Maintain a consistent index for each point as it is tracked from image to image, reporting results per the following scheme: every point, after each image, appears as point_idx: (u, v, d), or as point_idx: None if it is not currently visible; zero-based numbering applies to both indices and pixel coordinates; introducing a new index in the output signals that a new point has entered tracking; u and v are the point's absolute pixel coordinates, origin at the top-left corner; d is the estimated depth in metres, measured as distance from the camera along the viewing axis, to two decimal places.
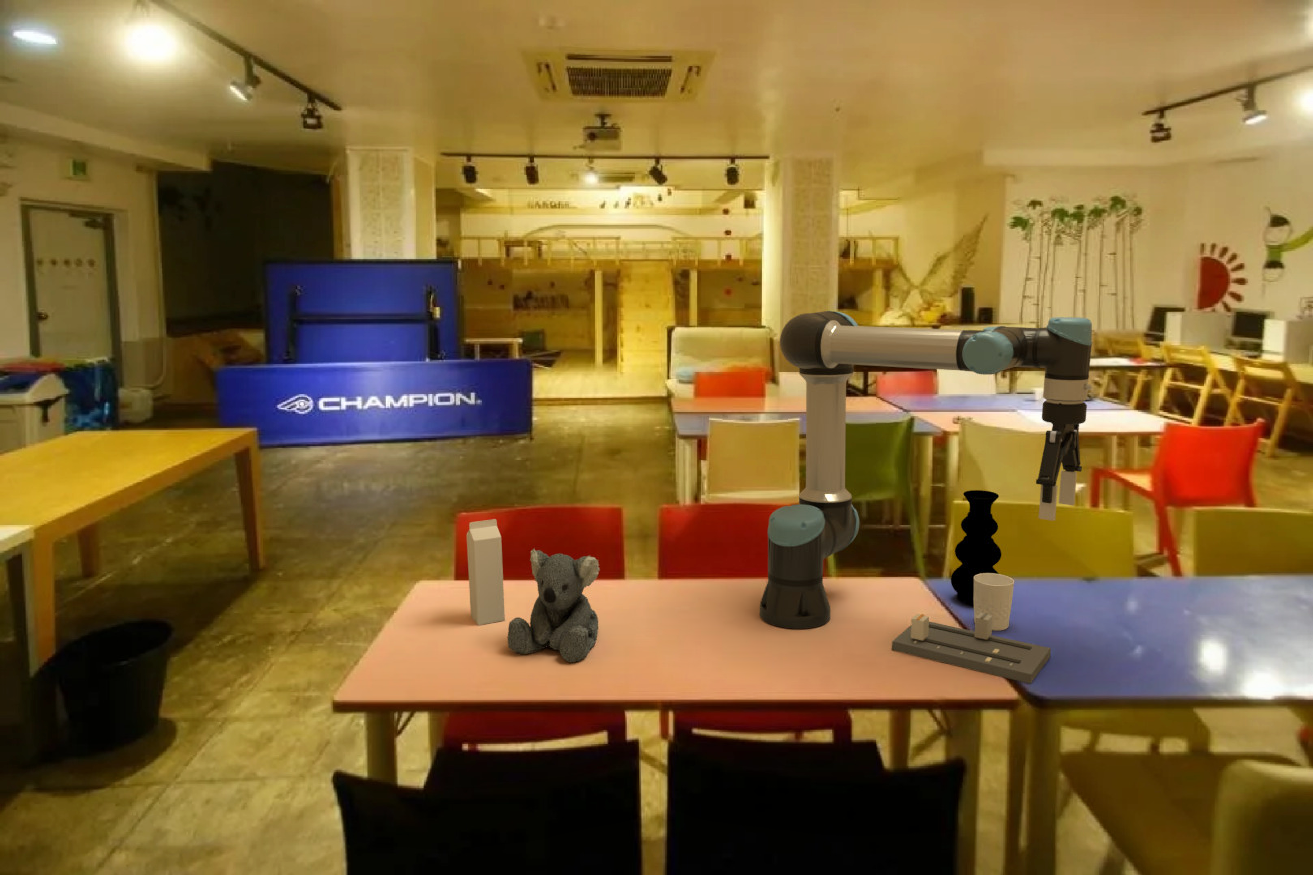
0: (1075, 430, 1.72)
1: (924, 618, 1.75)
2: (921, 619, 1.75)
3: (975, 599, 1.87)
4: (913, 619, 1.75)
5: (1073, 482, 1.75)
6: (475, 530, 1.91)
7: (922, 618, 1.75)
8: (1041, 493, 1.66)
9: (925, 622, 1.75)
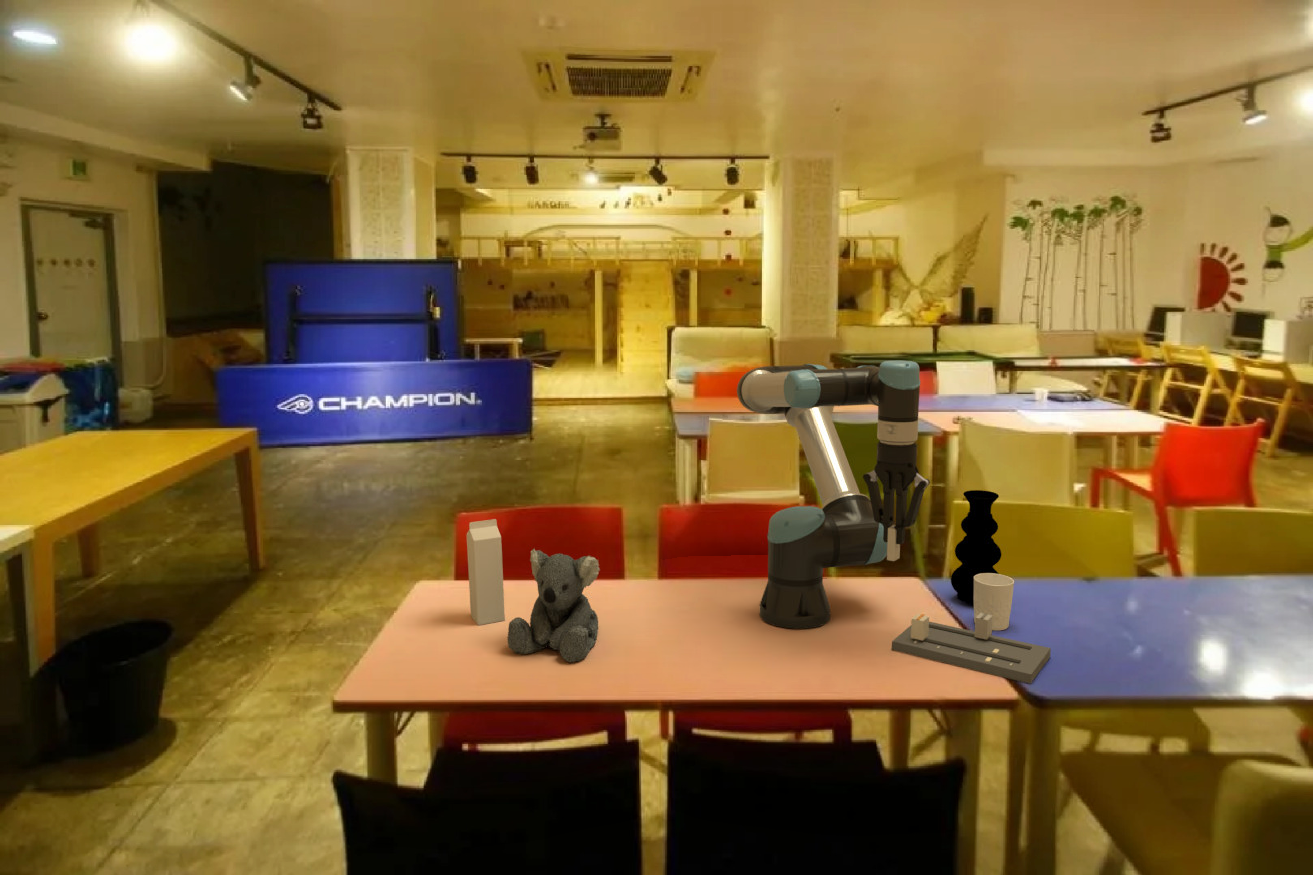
0: (916, 484, 1.71)
1: (924, 618, 1.75)
2: (921, 619, 1.75)
3: (975, 599, 1.87)
4: (913, 619, 1.75)
5: None
6: (475, 530, 1.91)
7: (922, 618, 1.75)
8: None
9: (925, 622, 1.75)
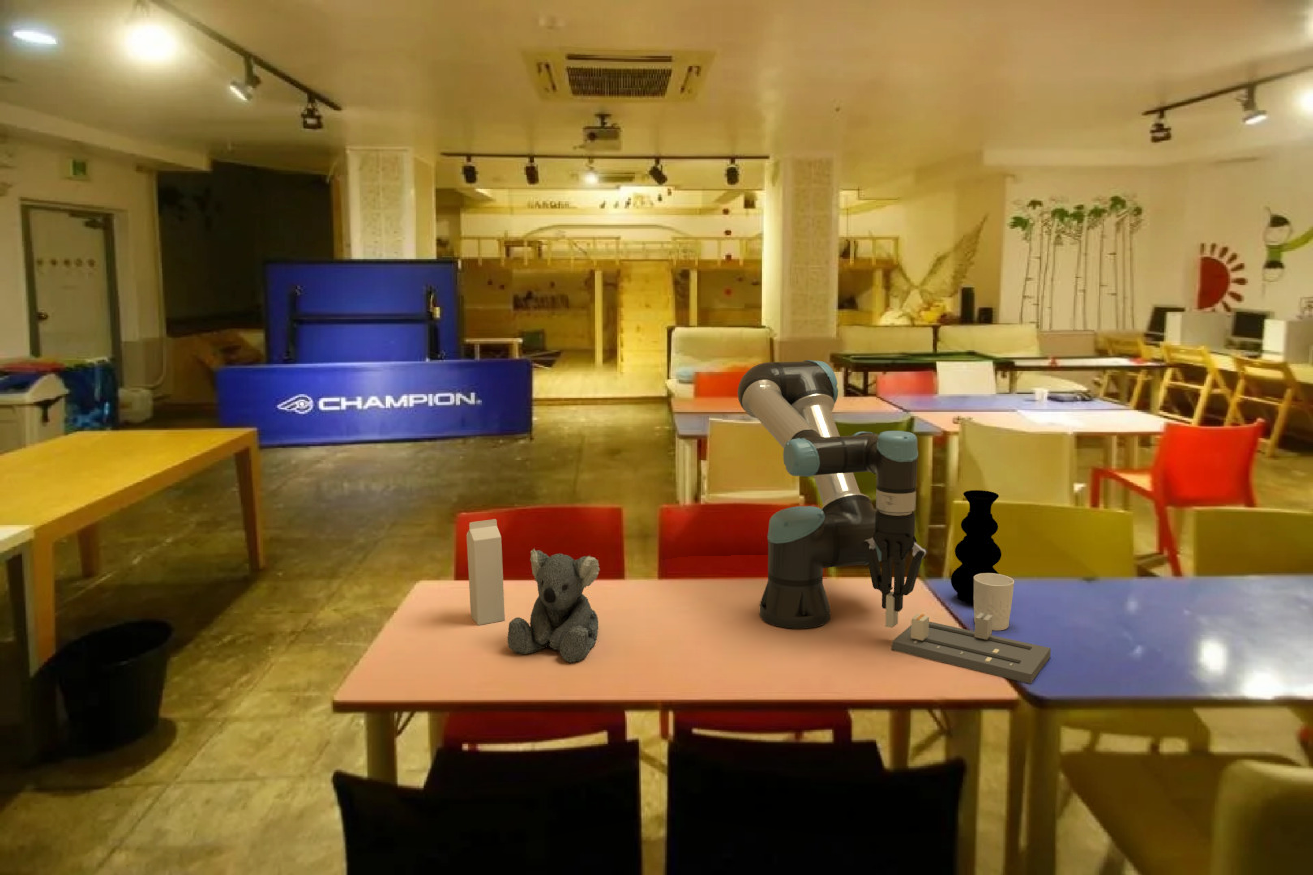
0: (914, 553, 1.74)
1: (924, 618, 1.75)
2: (921, 619, 1.75)
3: (975, 599, 1.87)
4: (913, 619, 1.75)
5: None
6: (475, 530, 1.91)
7: (922, 618, 1.75)
8: None
9: (925, 622, 1.75)
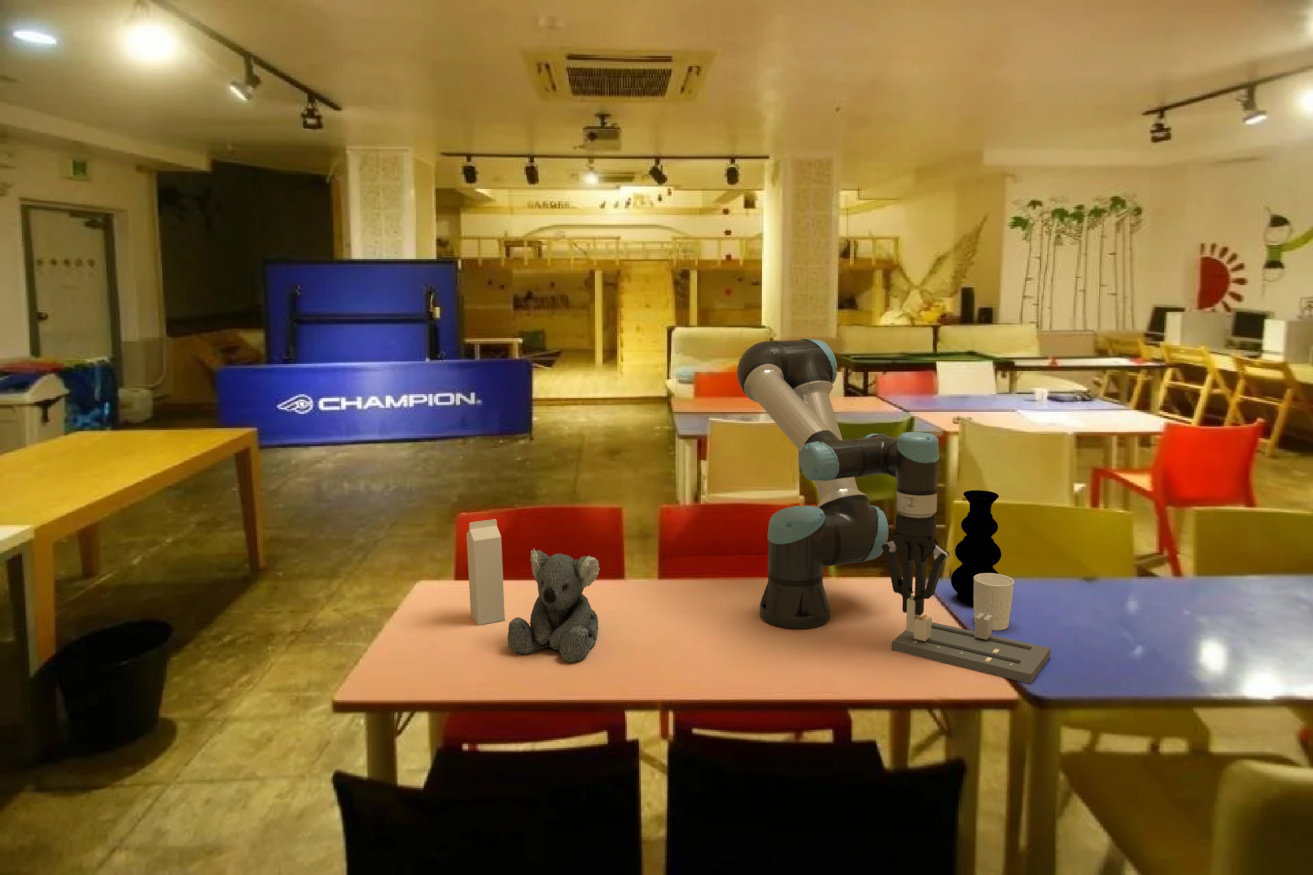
0: (936, 556, 1.71)
1: (927, 619, 1.75)
2: (924, 620, 1.75)
3: (975, 599, 1.87)
4: (916, 620, 1.75)
5: None
6: (475, 530, 1.91)
7: (925, 619, 1.75)
8: None
9: (928, 622, 1.75)
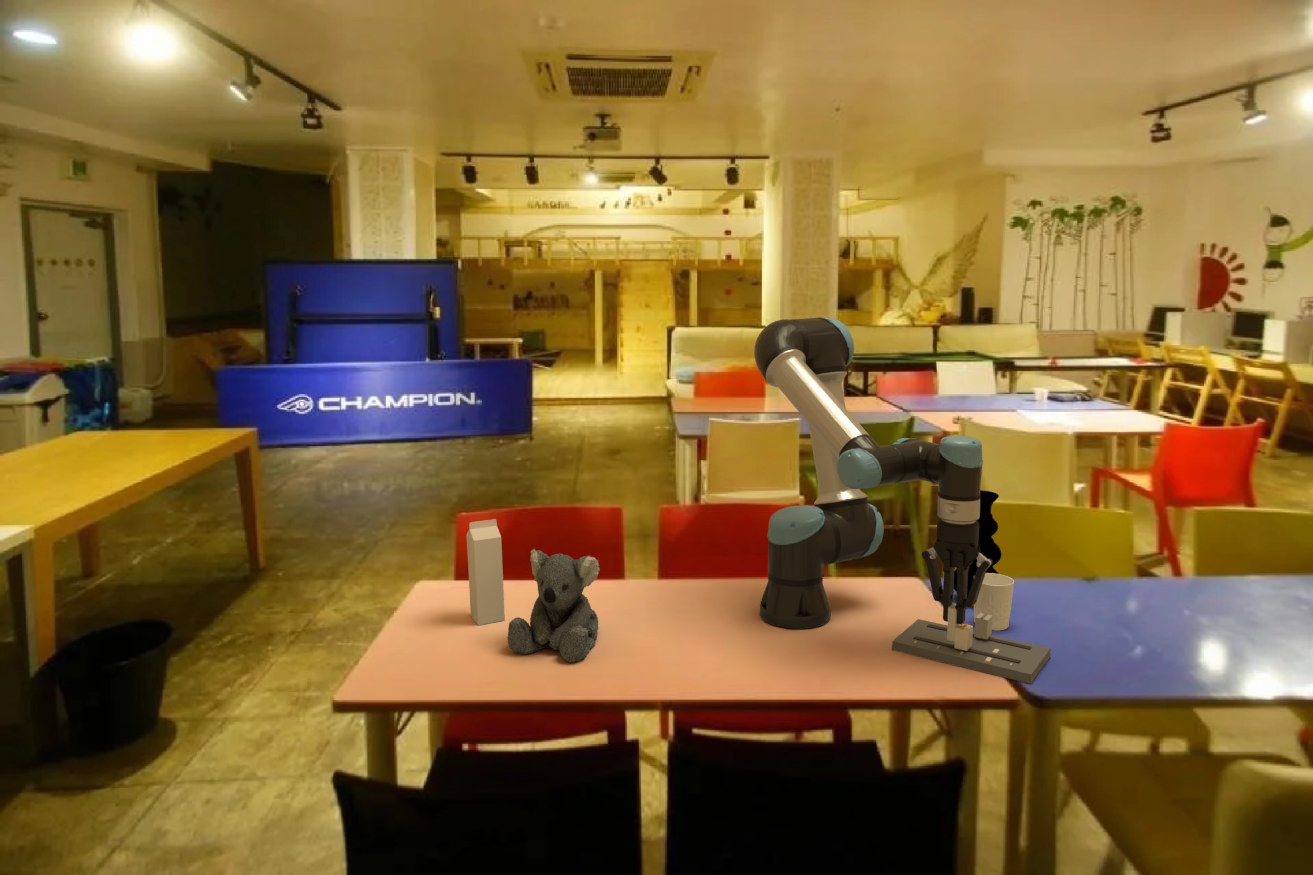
0: (979, 564, 1.66)
1: (968, 628, 1.70)
2: (965, 629, 1.70)
3: None
4: (957, 629, 1.70)
5: None
6: (475, 530, 1.91)
7: (966, 628, 1.70)
8: None
9: (970, 631, 1.70)
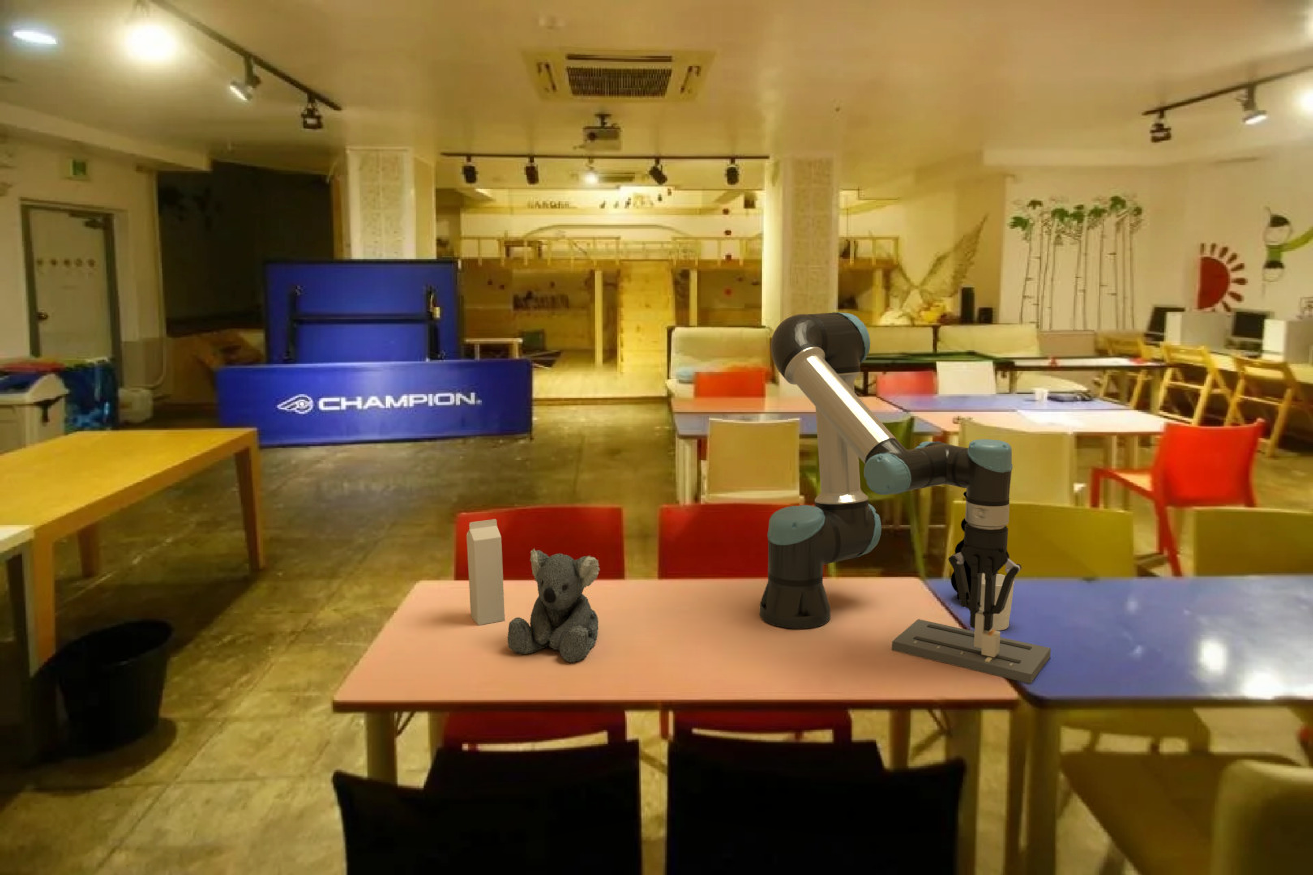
0: (1008, 570, 1.63)
1: (996, 634, 1.67)
2: (993, 635, 1.67)
3: None
4: (984, 635, 1.67)
5: None
6: (475, 530, 1.91)
7: (993, 634, 1.67)
8: None
9: (997, 637, 1.67)
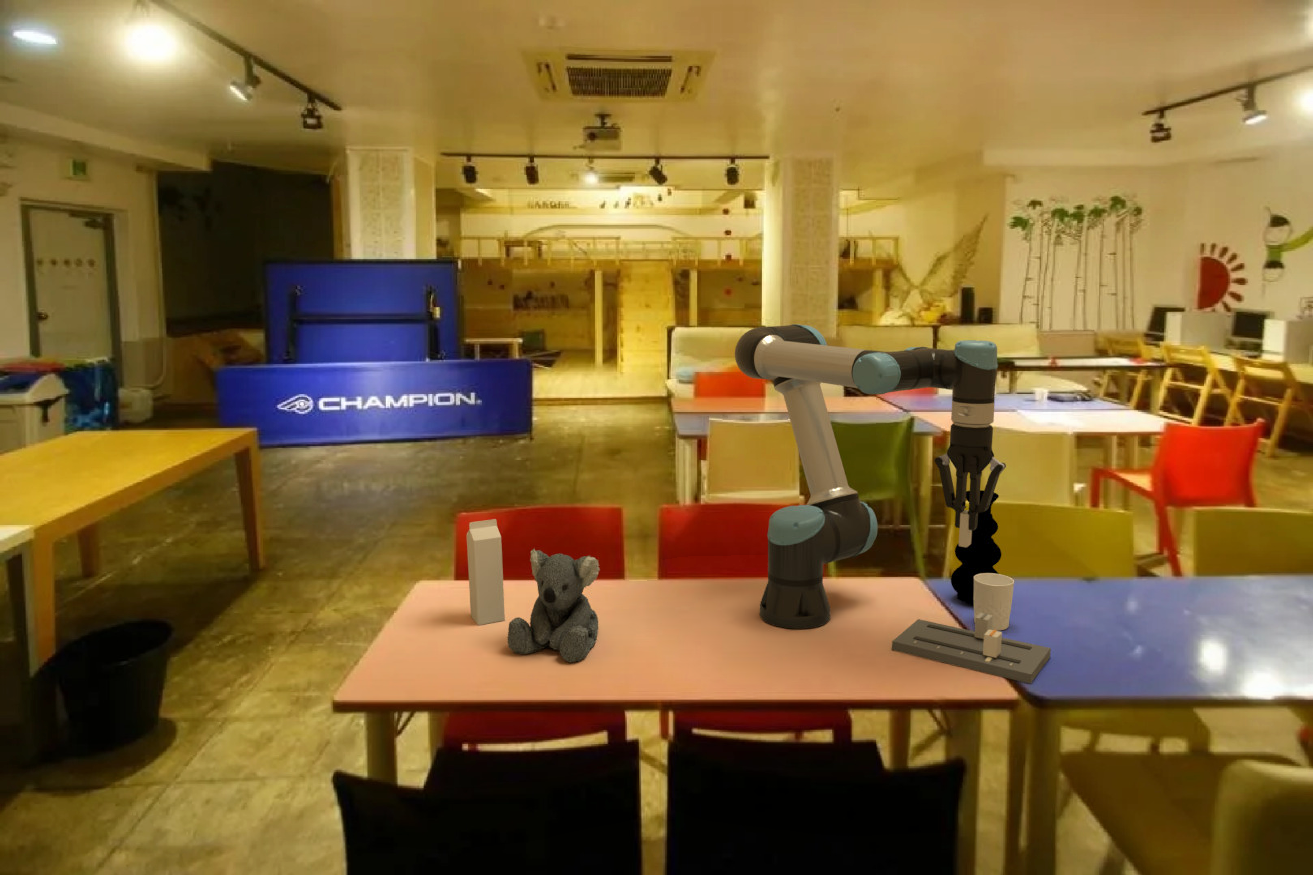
0: (992, 468, 1.66)
1: (997, 634, 1.67)
2: (994, 635, 1.67)
3: (975, 599, 1.87)
4: (986, 635, 1.67)
5: None
6: (475, 530, 1.91)
7: (995, 634, 1.67)
8: None
9: (999, 638, 1.67)
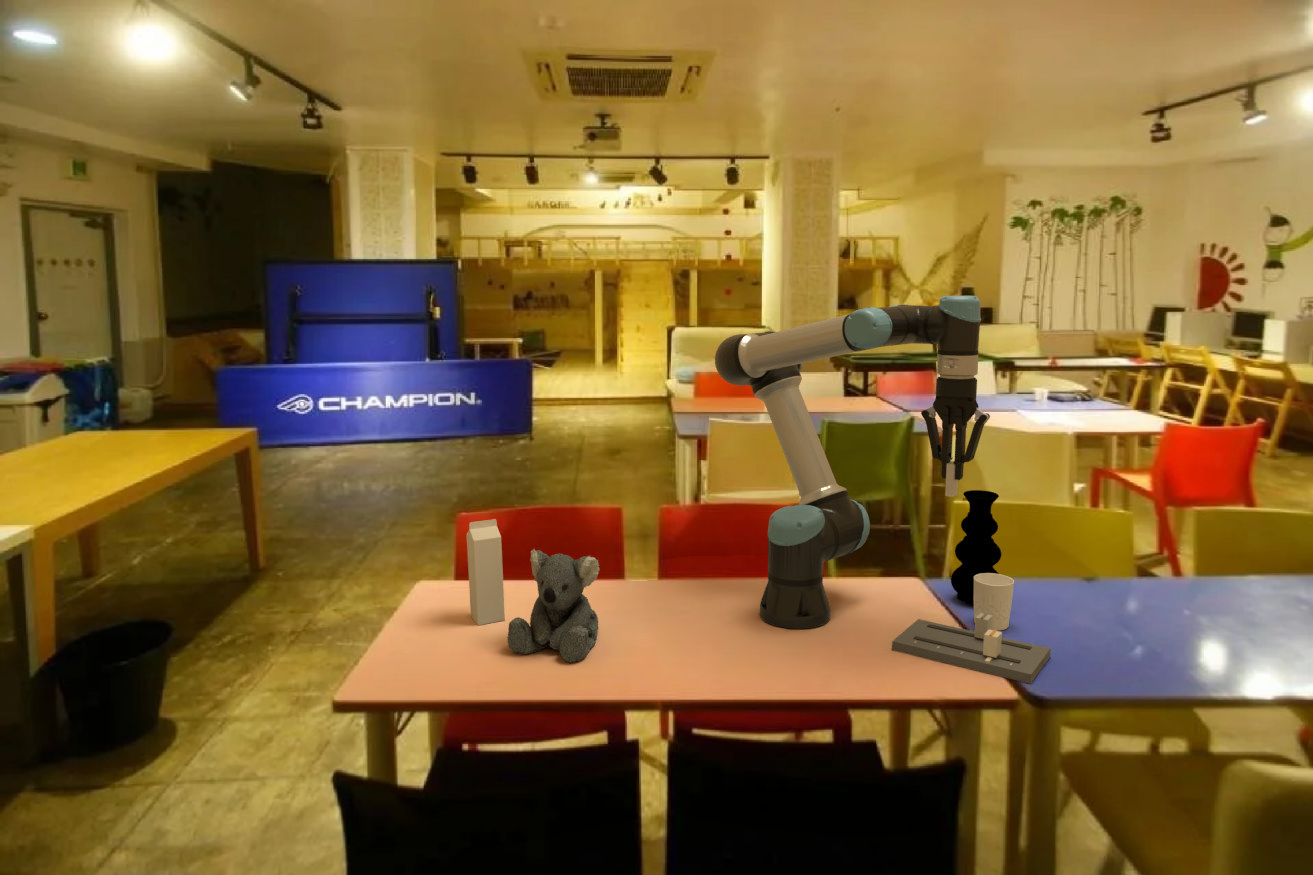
0: (977, 418, 1.72)
1: (997, 634, 1.67)
2: (994, 635, 1.67)
3: (975, 599, 1.87)
4: (986, 635, 1.67)
5: None
6: (475, 530, 1.91)
7: (995, 634, 1.67)
8: None
9: (999, 638, 1.67)
